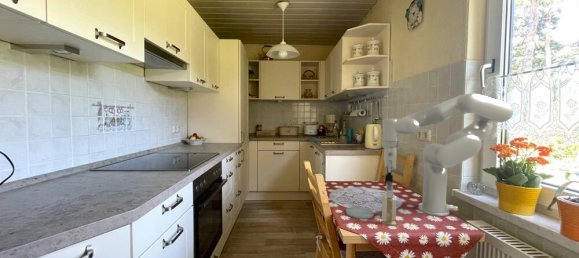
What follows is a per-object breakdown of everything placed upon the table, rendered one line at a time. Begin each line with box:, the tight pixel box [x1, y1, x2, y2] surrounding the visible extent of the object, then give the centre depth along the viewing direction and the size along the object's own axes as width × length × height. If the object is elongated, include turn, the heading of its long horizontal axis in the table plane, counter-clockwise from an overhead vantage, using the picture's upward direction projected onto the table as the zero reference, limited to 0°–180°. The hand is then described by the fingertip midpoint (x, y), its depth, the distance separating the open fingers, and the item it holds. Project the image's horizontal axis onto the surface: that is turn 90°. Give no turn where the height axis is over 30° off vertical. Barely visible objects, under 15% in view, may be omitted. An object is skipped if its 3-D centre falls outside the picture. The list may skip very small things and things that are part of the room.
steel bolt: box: [385, 181, 394, 198], centre depth 113 cm, size 2×16×3 cm, turn 160°
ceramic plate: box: [345, 206, 375, 220], centre depth 118 cm, size 12×12×1 cm
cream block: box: [381, 194, 398, 222], centre depth 114 cm, size 6×6×9 cm
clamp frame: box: [381, 193, 397, 227], centre depth 113 cm, size 5×17×10 cm, turn 161°
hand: (388, 183), depth 125 cm, fingers closed
